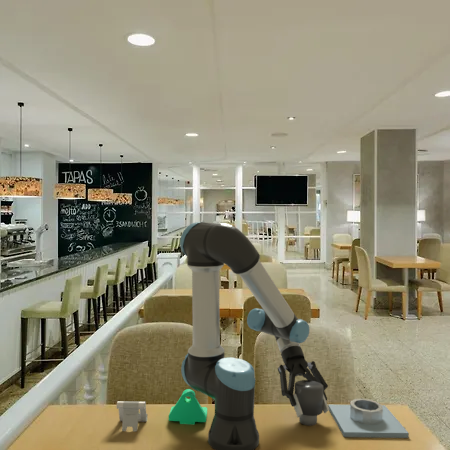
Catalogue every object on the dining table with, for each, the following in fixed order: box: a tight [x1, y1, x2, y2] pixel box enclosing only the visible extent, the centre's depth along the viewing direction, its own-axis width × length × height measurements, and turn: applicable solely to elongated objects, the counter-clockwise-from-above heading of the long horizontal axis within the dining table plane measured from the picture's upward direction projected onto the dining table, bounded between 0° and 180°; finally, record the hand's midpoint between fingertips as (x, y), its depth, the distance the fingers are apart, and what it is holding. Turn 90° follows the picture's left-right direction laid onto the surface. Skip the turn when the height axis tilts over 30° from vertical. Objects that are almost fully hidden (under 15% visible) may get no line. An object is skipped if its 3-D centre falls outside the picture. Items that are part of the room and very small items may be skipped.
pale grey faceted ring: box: [349, 398, 383, 425], centre depth 151 cm, size 10×10×4 cm
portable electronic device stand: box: [116, 400, 148, 432], centre depth 145 cm, size 9×8×8 cm
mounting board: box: [327, 403, 410, 439], centre depth 151 cm, size 20×20×2 cm
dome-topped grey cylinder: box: [293, 379, 324, 426], centre depth 151 cm, size 9×9×12 cm
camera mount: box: [168, 388, 208, 425], centre depth 151 cm, size 12×8×10 cm, turn 88°
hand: (313, 413), depth 148 cm, fingers closed on dome-topped grey cylinder, 9 cm apart
